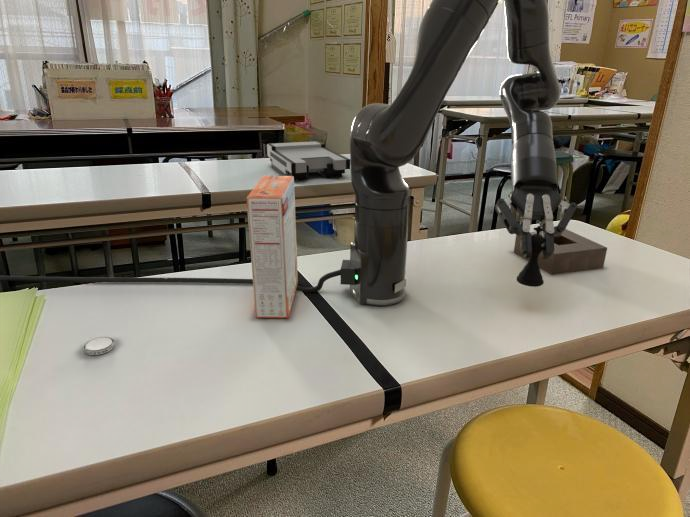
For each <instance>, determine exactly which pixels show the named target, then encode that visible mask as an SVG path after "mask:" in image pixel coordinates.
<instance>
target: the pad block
mask: <svg viewBox="0 0 690 517" xmlns="http://www.w3.org/2000/svg"><path fill="white" fill-rule="evenodd" d="M529 233H531V236H532V235H533V234H537V232H536V230H534V231H529ZM539 234H540V235H542V236H543V234H542V231H540V233H539ZM607 251H608V247H607V246H605V245H602V244H600V243H598V242H596V241H593V240H592V239H589V238H586V237H584V236H582V235H580V234H578V233H575V232H573V231H571V230H569V229H567V228H566V229H565V230H564V231H563V232H562V234H561V236H560V237H556V236H555V237H554V252H553V254H552V255H551V256H550V257H549V258H548V259H543V253H542V251H541V253H540V254H539V256H538V266H539V269H540V270H543V271H544V272H546V273H548V274H549V275H551V276H552V275H560V274H562V275H563V274H568V273H576V272H583V271H590V270H597V269H603V268H604V265H605V261H606V257H607ZM513 254H515V255H516V256H518V257H521V258H522V259H524V260H526V261H527V262H528V261H529V258H525V257H524V254H521V252H520V237H519V236H518V235H516V234H515V239H514V247H513Z"/></svg>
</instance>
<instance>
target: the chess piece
mask: <svg viewBox="0 0 690 517" xmlns="http://www.w3.org/2000/svg"><path fill="white" fill-rule="evenodd" d="M533 230H534V231H536V232H537V234H533V235H532V236H531V239H532V255H531V256H530V258H529V261H527V263H526V264H525V265H524V267H523V268H522V269H521V271H519V273H518V275H517V276H516V278H515V280H516V282H517V283H518V284H520V285H522V286H525V287H532V288H537V287H541V286H543V285H544V282H545V281H544V279H543V275H542V273H541V268H539V266H538V256H539V254H540V253H541V251H542V250H543V247H542V244H543V243H544V238H543V236H542V235H540V234H539V233H540V231H543V229H542V228H540V225H537V227H533Z"/></svg>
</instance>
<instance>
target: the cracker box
mask: <svg viewBox="0 0 690 517" xmlns="http://www.w3.org/2000/svg"><path fill="white" fill-rule="evenodd" d="M295 192H296V191H295V181H294V176H283V175H275V174H274V175H273V174H272V175H262V176H261V178H260V179H259V180H258V182H257V183H256V185H255V186H254V187H253V189H252V190H251V191H250V192H249V194H248V195H247V196H246V209H247V223H248V224H247V225H248V233H249V235H248V236H249V247H250V260H251V261H250V262H251V274H252V279H253V284H252V288H253V298H254V312H255V318H256V319H289V318H290V315H291V312H292V307H293V303H294V299H295V295H296V291H297V290H296V288H297V286H298V285H299V284H298V283H299V276H298V274H299V272H298V248H297V224H296V223H297V221H296V198H295V196H296V194H295Z"/></svg>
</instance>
